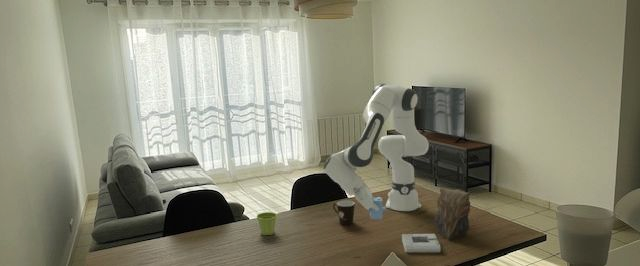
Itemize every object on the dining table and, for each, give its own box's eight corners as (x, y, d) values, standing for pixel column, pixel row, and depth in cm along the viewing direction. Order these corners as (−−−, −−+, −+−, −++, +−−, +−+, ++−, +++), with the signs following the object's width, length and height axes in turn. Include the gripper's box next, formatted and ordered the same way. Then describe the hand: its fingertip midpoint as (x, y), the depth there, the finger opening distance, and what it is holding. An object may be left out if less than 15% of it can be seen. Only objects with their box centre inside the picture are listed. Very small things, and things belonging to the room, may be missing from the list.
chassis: (402, 240, 193) (402, 234, 192) (434, 240, 192) (434, 233, 191) (405, 252, 181) (405, 245, 180) (440, 252, 180) (440, 245, 179)
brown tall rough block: (433, 230, 203) (433, 188, 200) (458, 227, 206) (459, 185, 202) (446, 240, 191) (447, 196, 188) (473, 237, 193) (474, 193, 190)
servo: (367, 215, 192) (366, 196, 191) (384, 215, 192) (384, 195, 190) (367, 219, 188) (367, 199, 186) (385, 218, 187) (385, 198, 186)
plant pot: (265, 228, 213) (264, 210, 212) (281, 231, 208) (280, 213, 207) (253, 234, 205) (252, 217, 204) (269, 238, 200) (268, 220, 199)
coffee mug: (358, 224, 213) (357, 204, 212) (341, 227, 210) (341, 207, 208) (347, 217, 224) (347, 198, 222) (332, 219, 221) (331, 200, 219)
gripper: (360, 187, 177) (384, 210, 178) (358, 174, 197) (381, 194, 198) (349, 198, 178) (373, 221, 179) (349, 184, 198) (371, 204, 199)
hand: (377, 207), depth 189 cm, fingers closed on servo, 4 cm apart
